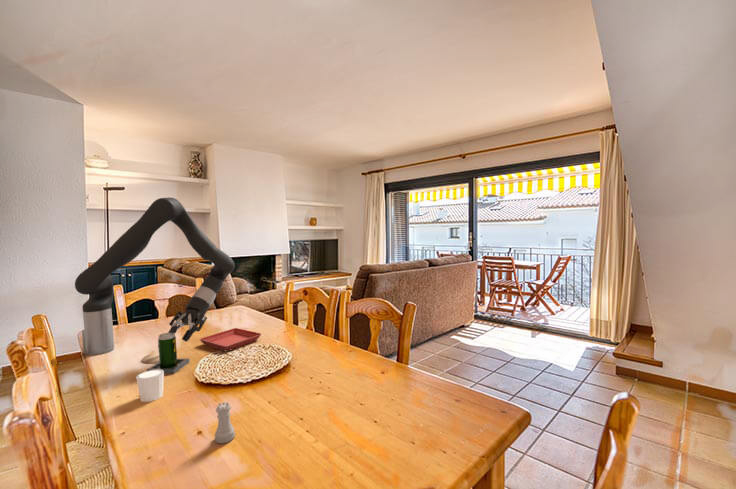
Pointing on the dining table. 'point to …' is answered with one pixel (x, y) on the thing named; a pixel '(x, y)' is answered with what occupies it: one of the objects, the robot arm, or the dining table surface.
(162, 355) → the beer can
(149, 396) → the white tapered cylinder
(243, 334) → the plant saucer
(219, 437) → the rook chess piece
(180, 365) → the collar
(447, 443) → the dining table surface
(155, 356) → the coaster
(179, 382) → the dining table surface
